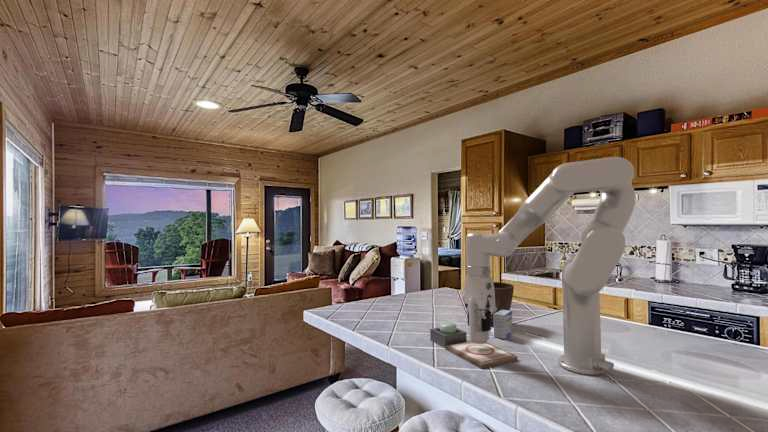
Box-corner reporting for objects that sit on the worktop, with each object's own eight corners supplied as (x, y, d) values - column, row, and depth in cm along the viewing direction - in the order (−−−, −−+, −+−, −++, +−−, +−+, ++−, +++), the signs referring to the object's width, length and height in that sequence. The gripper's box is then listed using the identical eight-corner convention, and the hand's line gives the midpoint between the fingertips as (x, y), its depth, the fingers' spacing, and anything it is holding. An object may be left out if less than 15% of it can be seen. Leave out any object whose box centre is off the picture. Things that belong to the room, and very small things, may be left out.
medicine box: (505, 339, 131) (505, 315, 131) (493, 337, 133) (493, 313, 133) (512, 333, 137) (512, 310, 137) (501, 331, 140) (500, 309, 140)
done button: (459, 334, 128) (459, 325, 128) (445, 336, 125) (445, 328, 125) (450, 330, 133) (449, 321, 133) (436, 332, 130) (436, 323, 130)
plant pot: (486, 317, 161) (485, 280, 161) (520, 322, 151) (519, 283, 151) (470, 324, 149) (469, 285, 149) (506, 331, 140) (505, 289, 140)
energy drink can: (485, 337, 120) (484, 292, 120) (491, 344, 114) (490, 295, 114) (467, 338, 120) (466, 292, 120) (472, 344, 114) (471, 296, 114)
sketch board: (517, 360, 111) (517, 355, 111) (481, 368, 106) (481, 363, 106) (478, 342, 128) (478, 338, 128) (445, 349, 122) (445, 344, 122)
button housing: (466, 343, 127) (466, 332, 127) (444, 347, 123) (444, 336, 123) (451, 336, 135) (451, 325, 135) (430, 340, 131) (430, 328, 131)
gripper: (506, 274, 111) (507, 333, 111) (470, 267, 126) (471, 319, 126) (487, 276, 107) (488, 337, 107) (452, 269, 123) (453, 322, 123)
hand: (478, 327), depth 117 cm, fingers closed on energy drink can, 6 cm apart
